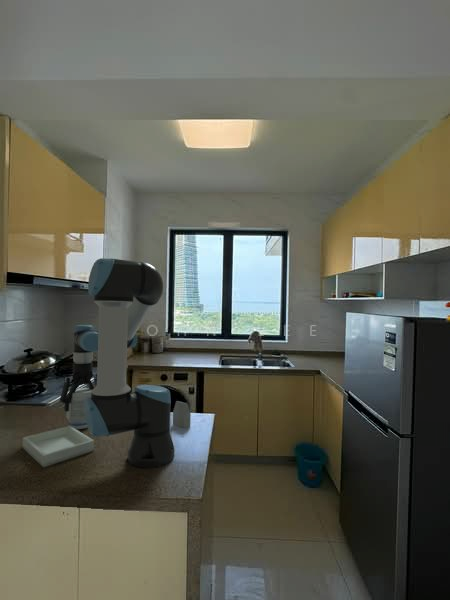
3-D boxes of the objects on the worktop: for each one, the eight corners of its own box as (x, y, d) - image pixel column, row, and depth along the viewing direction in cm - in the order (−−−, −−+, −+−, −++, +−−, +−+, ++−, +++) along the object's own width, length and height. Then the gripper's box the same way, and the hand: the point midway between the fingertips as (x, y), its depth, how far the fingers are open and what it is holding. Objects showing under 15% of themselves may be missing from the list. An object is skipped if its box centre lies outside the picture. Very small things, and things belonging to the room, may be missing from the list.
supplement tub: (95, 427, 130) (96, 391, 130) (69, 432, 125) (71, 394, 125) (90, 420, 138) (91, 386, 138) (66, 424, 133) (67, 389, 133)
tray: (93, 450, 109) (94, 440, 109) (43, 467, 97) (43, 455, 97) (69, 434, 122) (69, 425, 122) (22, 447, 110) (22, 437, 110)
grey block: (184, 429, 130) (184, 405, 130) (172, 425, 134) (173, 402, 134) (190, 427, 133) (190, 403, 133) (178, 423, 137) (179, 400, 137)
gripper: (103, 358, 143) (102, 408, 142) (51, 363, 126) (49, 420, 126) (112, 360, 138) (110, 411, 137) (58, 366, 121) (56, 425, 121)
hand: (81, 415), depth 131 cm, fingers closed on supplement tub, 9 cm apart
